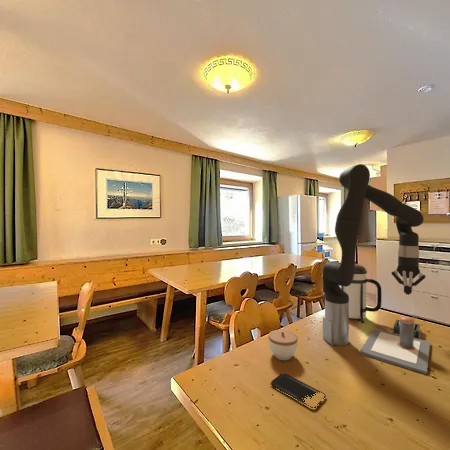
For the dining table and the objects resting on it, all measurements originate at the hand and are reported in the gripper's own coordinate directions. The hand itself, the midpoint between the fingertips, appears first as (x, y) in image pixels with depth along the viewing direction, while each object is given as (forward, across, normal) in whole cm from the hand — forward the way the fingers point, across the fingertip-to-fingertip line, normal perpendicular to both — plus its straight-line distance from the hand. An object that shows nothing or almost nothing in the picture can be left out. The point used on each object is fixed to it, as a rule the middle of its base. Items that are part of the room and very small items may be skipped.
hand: (407, 294), depth 114 cm
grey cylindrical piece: (+16, -1, +18) cm, 24 cm away
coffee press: (+18, +22, -3) cm, 28 cm away
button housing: (+17, 0, 0) cm, 17 cm away
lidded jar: (+18, +34, +53) cm, 65 cm away
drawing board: (+18, +2, +20) cm, 26 cm away
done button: (+16, 0, 0) cm, 16 cm away
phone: (+19, +21, +68) cm, 73 cm away
